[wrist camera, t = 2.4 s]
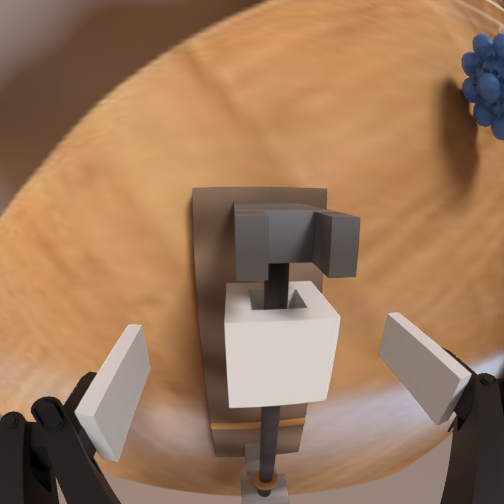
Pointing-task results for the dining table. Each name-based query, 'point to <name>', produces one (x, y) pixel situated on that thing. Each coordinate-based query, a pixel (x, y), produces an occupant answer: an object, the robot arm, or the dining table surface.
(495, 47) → the blue knobbed wheel
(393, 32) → the dining table surface
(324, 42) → the dining table surface
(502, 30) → the foam cup
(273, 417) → the sliding block rail
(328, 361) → the sleeve
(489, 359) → the dining table surface
